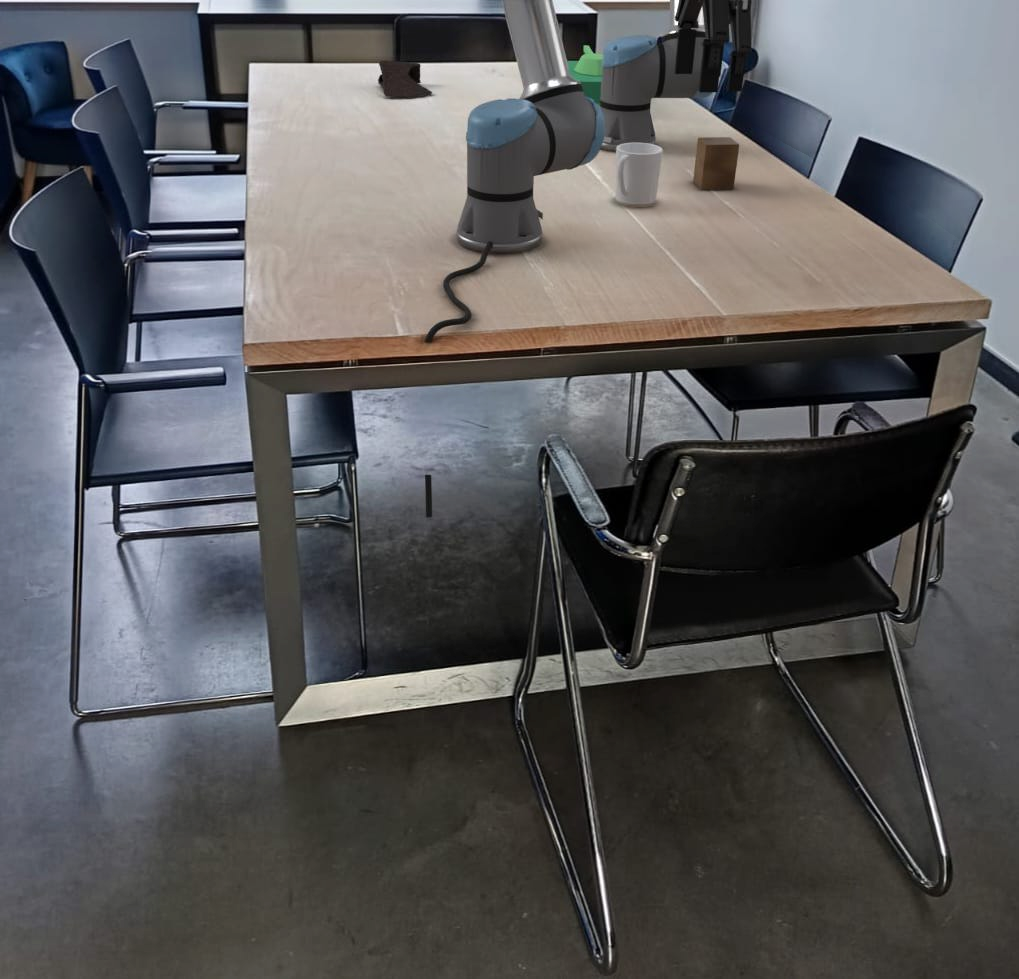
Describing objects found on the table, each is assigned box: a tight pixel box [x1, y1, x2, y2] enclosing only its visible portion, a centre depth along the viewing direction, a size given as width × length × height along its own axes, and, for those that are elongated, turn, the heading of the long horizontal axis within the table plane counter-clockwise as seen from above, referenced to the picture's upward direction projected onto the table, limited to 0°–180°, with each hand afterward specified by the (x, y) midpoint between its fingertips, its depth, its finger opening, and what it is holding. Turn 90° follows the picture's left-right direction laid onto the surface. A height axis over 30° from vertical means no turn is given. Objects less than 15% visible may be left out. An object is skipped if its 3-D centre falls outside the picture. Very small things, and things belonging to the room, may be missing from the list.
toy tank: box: [567, 44, 603, 106], centre depth 290 cm, size 18×12×35 cm
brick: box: [692, 136, 740, 191], centre depth 226 cm, size 7×6×9 cm
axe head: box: [377, 59, 433, 99], centre depth 299 cm, size 18×8×15 cm
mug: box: [614, 143, 664, 208], centre depth 214 cm, size 11×9×10 cm
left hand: (695, 82), depth 168 cm, fingers open, 13 cm apart
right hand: (723, 83), depth 218 cm, fingers open, 13 cm apart
